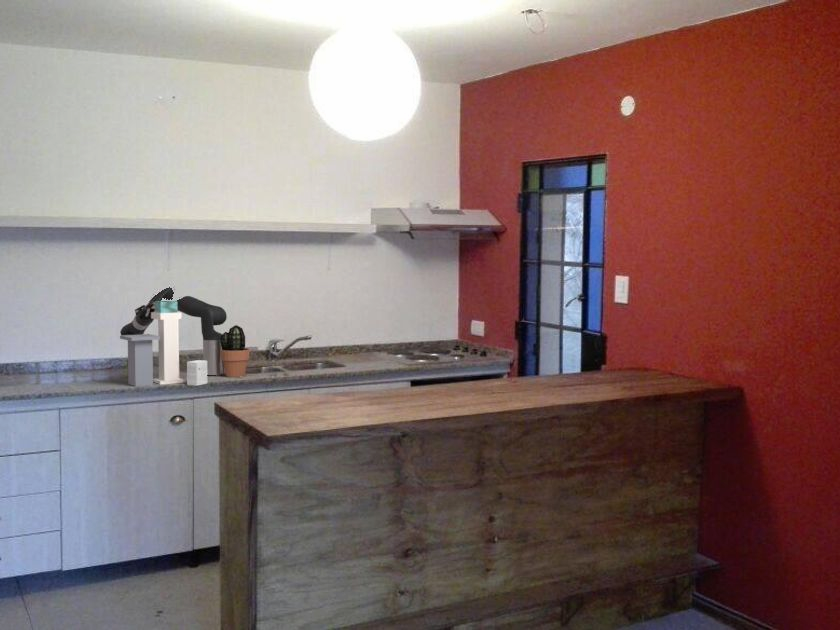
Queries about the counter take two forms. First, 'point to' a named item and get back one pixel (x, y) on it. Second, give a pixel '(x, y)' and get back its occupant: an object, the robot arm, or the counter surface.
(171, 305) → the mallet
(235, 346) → the potted plant
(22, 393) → the counter surface
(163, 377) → the tall stand
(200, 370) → the small box
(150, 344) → the pedestal
